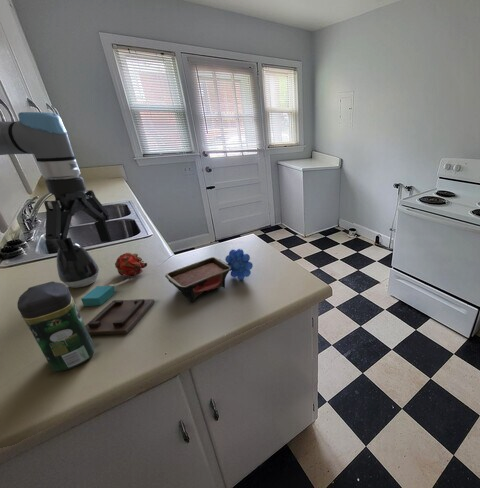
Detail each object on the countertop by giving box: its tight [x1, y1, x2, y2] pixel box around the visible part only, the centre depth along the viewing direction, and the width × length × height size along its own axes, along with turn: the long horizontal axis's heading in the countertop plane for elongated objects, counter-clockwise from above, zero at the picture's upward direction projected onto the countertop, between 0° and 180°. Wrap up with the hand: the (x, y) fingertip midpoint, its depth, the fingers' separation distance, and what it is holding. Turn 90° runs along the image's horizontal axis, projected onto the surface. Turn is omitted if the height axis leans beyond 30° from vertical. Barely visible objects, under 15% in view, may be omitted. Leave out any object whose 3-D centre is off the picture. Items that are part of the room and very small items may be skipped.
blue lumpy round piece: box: [224, 248, 254, 281], centre depth 94 cm, size 12×7×12 cm, turn 65°
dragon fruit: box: [114, 252, 148, 278], centre depth 98 cm, size 8×8×12 cm
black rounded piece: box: [56, 242, 100, 288], centre depth 90 cm, size 10×10×15 cm
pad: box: [80, 285, 117, 307], centre depth 84 cm, size 7×5×3 cm
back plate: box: [84, 298, 155, 336], centre depth 76 cm, size 14×12×2 cm
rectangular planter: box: [164, 256, 231, 304], centre depth 89 cm, size 14×18×10 cm
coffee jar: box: [17, 281, 95, 372], centre depth 60 cm, size 10×8×19 cm
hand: (91, 250), depth 80 cm, fingers open, 13 cm apart
